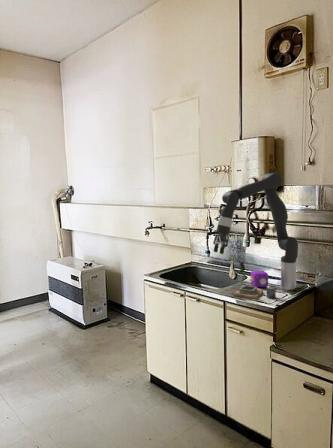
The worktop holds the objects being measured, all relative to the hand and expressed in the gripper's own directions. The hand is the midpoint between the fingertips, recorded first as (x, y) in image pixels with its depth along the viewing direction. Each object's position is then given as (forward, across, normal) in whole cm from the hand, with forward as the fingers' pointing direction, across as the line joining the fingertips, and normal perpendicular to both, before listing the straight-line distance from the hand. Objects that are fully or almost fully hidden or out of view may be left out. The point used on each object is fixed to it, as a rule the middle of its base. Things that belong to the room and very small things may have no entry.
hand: (218, 252), depth 199 cm
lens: (+19, -6, -37) cm, 42 cm away
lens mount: (+21, +5, -28) cm, 35 cm away
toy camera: (+16, +17, -43) cm, 49 cm away
